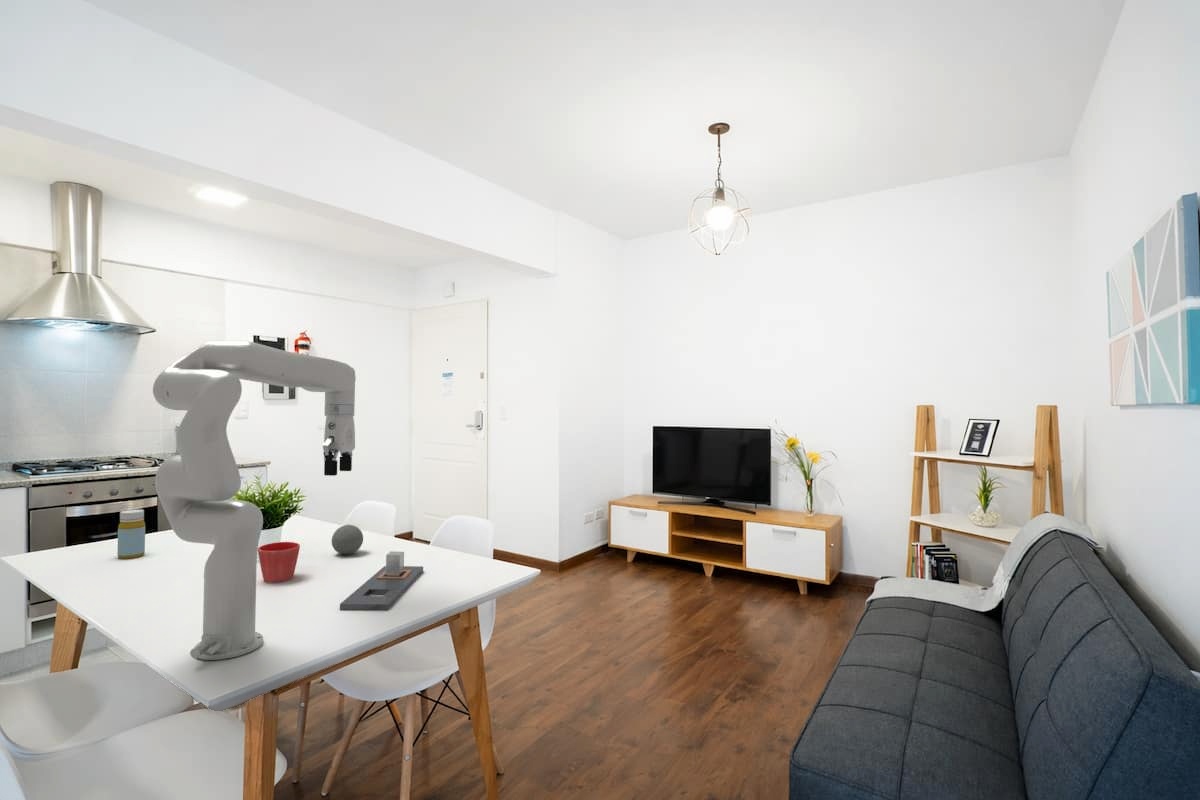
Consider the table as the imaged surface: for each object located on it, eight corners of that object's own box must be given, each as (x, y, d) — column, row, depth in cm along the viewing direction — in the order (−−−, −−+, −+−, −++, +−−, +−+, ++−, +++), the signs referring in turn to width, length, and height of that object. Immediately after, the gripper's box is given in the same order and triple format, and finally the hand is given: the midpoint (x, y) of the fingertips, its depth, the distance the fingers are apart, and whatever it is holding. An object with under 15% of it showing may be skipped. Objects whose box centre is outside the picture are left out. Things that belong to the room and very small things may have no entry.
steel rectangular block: (399, 582, 171) (399, 555, 171) (385, 582, 171) (386, 554, 171) (403, 578, 175) (404, 551, 175) (390, 577, 175) (390, 551, 175)
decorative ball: (325, 557, 196) (326, 527, 196) (340, 550, 206) (340, 521, 206) (354, 558, 195) (355, 528, 195) (367, 550, 205) (368, 522, 205)
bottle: (123, 554, 194) (124, 509, 194) (148, 553, 196) (149, 508, 196) (113, 560, 188) (114, 513, 188) (138, 558, 190) (139, 512, 190)
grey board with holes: (387, 610, 148) (387, 603, 148) (339, 609, 148) (339, 602, 148) (423, 571, 182) (423, 565, 182) (384, 570, 182) (384, 565, 182)
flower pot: (287, 584, 167) (288, 551, 167) (249, 584, 167) (250, 550, 167) (306, 573, 177) (306, 542, 177) (270, 573, 177) (270, 541, 177)
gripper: (340, 411, 151) (339, 477, 151) (365, 410, 169) (363, 469, 169) (311, 411, 151) (309, 477, 151) (338, 410, 168) (337, 469, 168)
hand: (338, 473), depth 160 cm, fingers open, 9 cm apart
